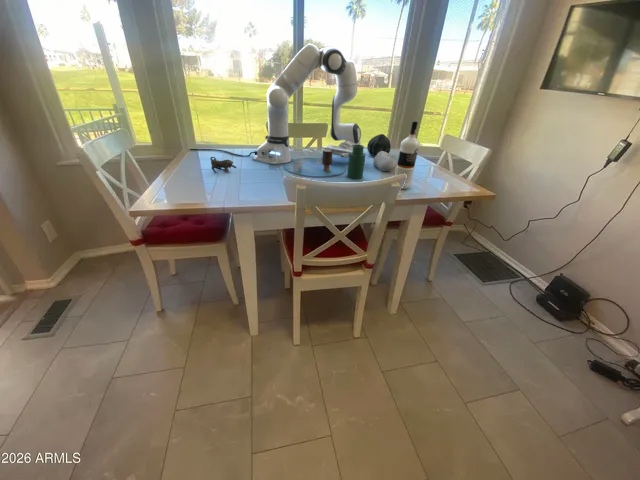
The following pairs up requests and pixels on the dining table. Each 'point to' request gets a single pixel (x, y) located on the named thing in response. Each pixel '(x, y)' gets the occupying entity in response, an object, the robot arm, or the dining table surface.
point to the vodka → (408, 156)
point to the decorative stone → (384, 161)
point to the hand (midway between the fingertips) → (334, 154)
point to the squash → (379, 144)
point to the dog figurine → (221, 164)
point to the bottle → (356, 163)
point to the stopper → (327, 159)
